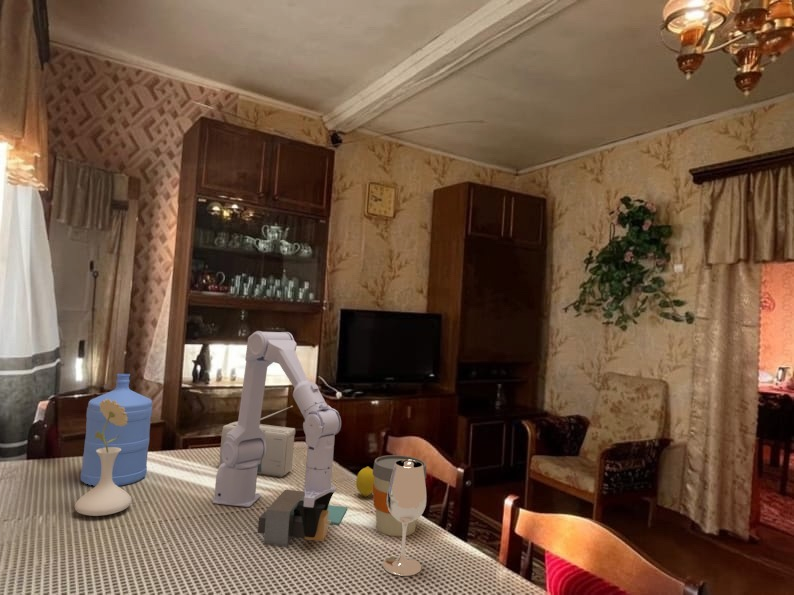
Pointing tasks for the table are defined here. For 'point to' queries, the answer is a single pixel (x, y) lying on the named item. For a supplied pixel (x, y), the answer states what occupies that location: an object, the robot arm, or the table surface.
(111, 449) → the flower in vase
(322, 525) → the plug
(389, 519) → the reusable coffee cup
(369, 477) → the lemon
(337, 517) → the mat
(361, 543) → the table surface
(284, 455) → the stereo radio cassette player
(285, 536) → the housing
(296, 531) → the push rod
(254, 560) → the table surface
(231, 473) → the robot arm
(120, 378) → the water jug
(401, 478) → the wineglass
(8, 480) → the table surface
